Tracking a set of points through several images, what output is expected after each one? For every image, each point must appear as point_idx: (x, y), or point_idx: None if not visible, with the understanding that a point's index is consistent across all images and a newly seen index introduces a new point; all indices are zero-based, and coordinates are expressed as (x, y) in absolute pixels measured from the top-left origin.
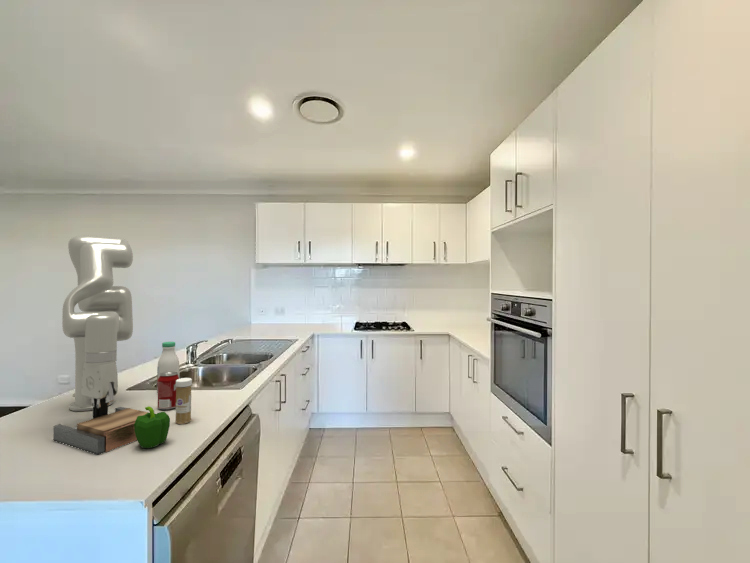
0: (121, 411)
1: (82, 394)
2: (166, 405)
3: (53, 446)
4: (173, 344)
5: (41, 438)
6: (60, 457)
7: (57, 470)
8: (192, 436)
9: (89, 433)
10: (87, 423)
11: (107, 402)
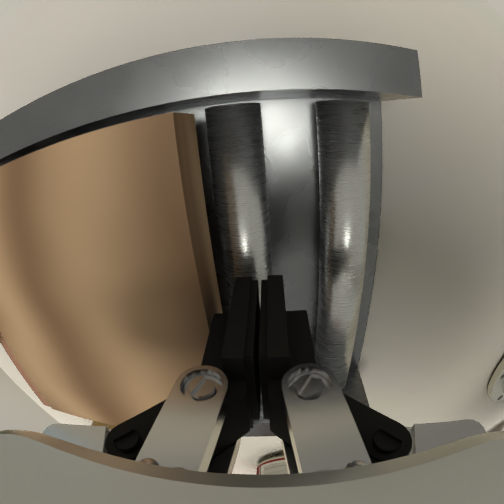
0: None
1: (501, 438)
2: (266, 469)
3: (274, 25)
4: None
5: (457, 74)
6: (84, 20)
7: (4, 19)
8: (5, 356)
9: (14, 142)
10: (99, 176)
11: (80, 425)
